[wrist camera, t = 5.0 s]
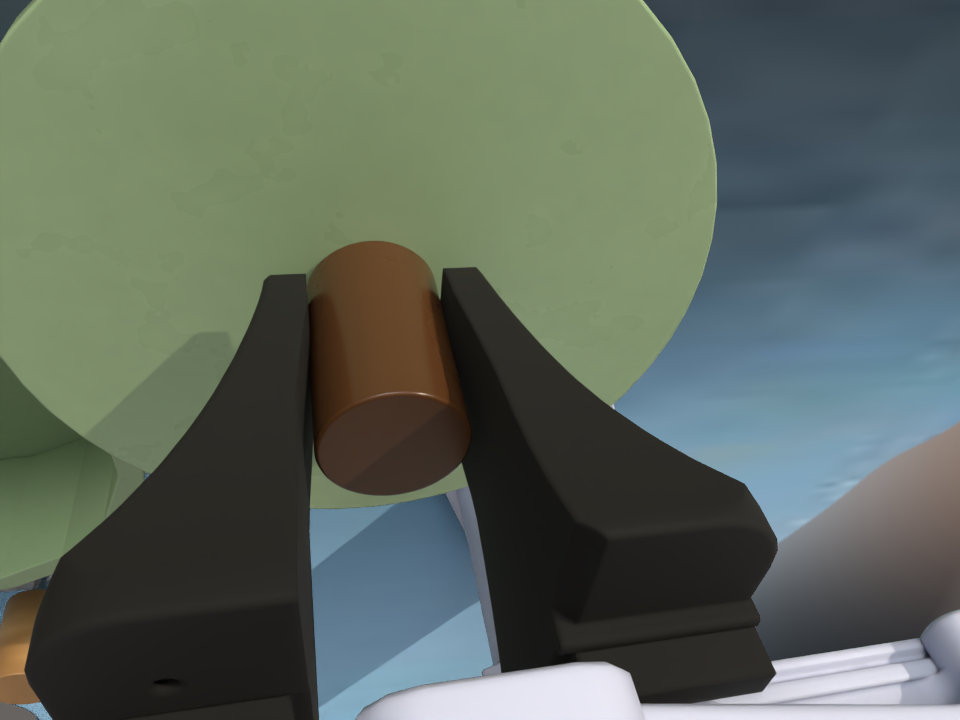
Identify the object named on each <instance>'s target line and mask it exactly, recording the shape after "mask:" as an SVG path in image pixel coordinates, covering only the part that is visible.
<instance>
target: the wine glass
mask: <svg viewBox="0 0 960 720" xmlns="http://www.w3.org/2000/svg"><path fill="white" fill-rule="evenodd" d="M0 720H39V719H38V718H37V717H36V716H35V715H34V714H33V713H31V712H29V711H28V710H26V709H24V708H21V707H19V706H16V705H12V704H8V703H3V702H0Z"/></svg>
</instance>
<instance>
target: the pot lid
mask: <svg viewBox="0 0 960 720" xmlns="http://www.w3.org/2000/svg"><path fill="white" fill-rule="evenodd" d="M716 206H717V170H716V156H715V151H714V145H713V139H712V134H711V128H710V122H709V118H708V116H707V113H706V110H705V107H704V104H703V101H702V98H701V95H700V93H699V90H698V87H697V84H696V81H695V79H694V77H693V75H692V73H691V71H690V69H689V68H688V66H687V64H686V62H685V60H684V58H683V57H682V55H681V53H680V51H679V49H678V47H677V46H676V44H675V42H674V40H673V38H672V37H671V36H670V34H669V33H668V32H667V30H666V29H665V28H664V27H663V25H662V24H661V23H660V22H659V20H658V19H657V18H656V16H655V15H654V14H653V13H652V11H651V10H650V9H649V7H648V6H647V5H646V4H645V2H644V1H643V0H32V1H31V2H30V4H29V5H28V6H27V7H26V8H25V9H24V10H23V11H22V12H21V13H20V14H19V15H18V16H17V18H16V19H15V21H14V22H13V24H12V25H11V27H10V29H9V30H8V32H7V33H6V35H5V36H4V38H3V40H2V41H1V43H0V357H1V358H2V359H3V360H4V362H5V363H6V364H7V366H8V367H9V368H10V370H11V371H12V372H13V373H14V375H15V376H16V377H17V379H18V380H19V381H20V382H21V384H22V385H23V386H24V387H25V388H26V389H27V390H28V391H29V392H30V393H31V394H32V395H33V396H34V397H35V398H36V399H37V400H38V401H39V402H40V403H41V404H43V405H44V406H45V407H46V408H47V409H48V410H49V411H50V412H51V413H52V414H53V415H54V416H56V417H57V418H58V419H60V420H61V421H62V422H63V423H65V424H66V425H67V426H69V427H70V428H71V429H72V430H74V431H75V432H76V433H78V434H79V435H80V436H82V437H83V438H84V439H86V440H88V441H89V442H91V443H93V444H94V445H96V446H98V447H99V448H101V449H102V450H104V451H106V452H107V453H109V454H111V455H112V456H114V457H116V458H117V459H119V460H121V461H123V462H126V463H128V464H130V465H132V466H134V467H136V468H138V469H140V470H142V471H144V472H147V473H149V474H151V473H152V472H153V471H154V470H155V469H156V468H157V467H158V466H159V464H160V463H161V462H162V461H163V460H164V459H165V458H166V456H167V455H168V454H169V453H170V451H171V450H172V449H173V448H174V446H175V445H176V444H177V443H178V441H179V440H180V439H181V438H182V437H183V435H184V434H185V433H186V431H187V430H188V429H189V427H190V426H191V425H192V423H193V422H194V421H195V419H196V418H197V416H198V415H199V414H200V412H201V411H202V409H203V408H204V406H205V405H206V403H207V402H208V400H209V399H210V397H211V396H212V394H213V392H214V391H215V389H216V387H217V386H218V384H219V382H220V381H221V379H222V377H223V375H224V374H225V372H226V370H227V368H228V367H229V365H230V363H231V361H232V360H233V358H234V356H235V354H236V352H237V350H238V348H239V345H240V343H241V341H242V339H243V337H244V335H245V333H246V331H247V329H248V326H249V324H250V322H251V319H252V317H253V314H254V312H255V309H256V306H257V304H258V301H259V297H260V294H261V291H262V286H263V281H264V280H265V279H266V278H267V277H268V276H269V275H281V274H306V283H307V297H308V313H309V331H310V386H311V405H312V424H313V456H312V475H311V495H310V509H344V508H360V507H374V506H381V505H388V504H395V503H402V502H409V501H413V500H418V499H422V498H427V497H431V496H436V495H440V494H444V493H448V492H451V491H454V490H457V489H461V488H464V487H467V486H468V483H467V480H466V476H465V473H464V469H463V466H462V463H461V462H462V461H463V460H464V458H465V456H466V455H467V453H468V450H469V448H470V444H471V440H472V430H471V425H470V420H469V416H468V412H467V408H466V404H465V400H464V396H463V392H462V388H461V384H460V380H459V376H458V372H457V367H456V363H455V359H454V355H453V351H452V347H451V343H450V339H449V335H448V331H447V327H446V323H445V319H444V314H443V310H442V306H441V302H440V297H441V284H442V271H443V268H464V267H476V268H477V269H478V270H479V271H480V272H481V273H482V274H483V275H484V277H485V278H486V279H487V281H488V282H489V283H490V284H491V286H492V287H493V288H494V290H495V291H496V292H497V293H498V295H499V296H500V297H501V299H502V300H503V301H504V302H505V303H506V305H507V306H508V307H509V308H510V310H511V311H512V312H513V313H514V314H515V316H516V317H517V318H518V319H519V320H520V321H521V323H522V324H523V325H524V326H525V327H526V328H527V329H528V330H529V331H530V333H531V334H532V335H533V336H534V337H535V338H536V339H537V340H538V341H539V343H540V344H541V345H542V346H543V347H544V348H545V349H546V350H547V351H548V352H549V353H550V354H551V355H552V356H553V357H554V358H555V359H556V360H557V361H558V362H559V363H560V364H561V365H562V366H563V367H564V368H565V369H566V370H567V371H568V372H569V373H570V374H572V375H573V376H574V377H575V378H576V379H577V380H578V381H579V382H580V383H582V384H583V385H584V386H585V387H586V388H588V389H589V390H590V391H591V392H593V393H594V394H595V395H596V396H597V397H599V398H600V399H601V400H602V401H604V402H605V403H606V404H608V405H609V406H612V405H613V404H614V403H615V402H616V401H617V400H618V399H619V398H621V397H622V396H623V395H624V394H625V393H626V392H627V391H628V390H629V389H630V388H631V387H632V386H633V384H634V383H635V382H636V381H637V380H638V379H639V378H640V377H641V376H642V375H643V374H644V373H645V371H646V370H647V369H648V368H649V367H650V366H651V364H652V363H653V362H654V360H655V359H656V358H657V356H658V355H659V354H660V352H661V351H662V350H663V348H664V347H665V346H666V344H667V343H668V342H669V340H670V339H671V337H672V335H673V334H674V332H675V330H676V328H677V327H678V325H679V323H680V321H681V320H682V318H683V316H684V315H685V313H686V311H687V309H688V307H689V305H690V303H691V300H692V298H693V296H694V293H695V291H696V289H697V286H698V284H699V282H700V279H701V277H702V274H703V271H704V267H705V263H706V260H707V256H708V253H709V249H710V245H711V242H712V237H713V229H714V221H715V214H716Z"/></svg>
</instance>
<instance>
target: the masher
mask: <svg viewBox="0 0 960 720" xmlns="http://www.w3.org/2000/svg"><path fill="white" fill-rule="evenodd" d="M52 575H53V574H52ZM52 575H49V576H46V577H43V578H40V579H37V580H35V581H32V582H29V583H26V584H23V585H21V586H18V587H15V588H10V589H4V590H0V592H8V591H17V590H26V589H32V590H27V591H23V592H20V593H17V594H15V595H14V596H12V597H11V598H10V599H9V600H8V601H7V603H6V607H5V611H4V614H3V618H2V622H1V626H0V702H3V703H8V704H31V703H37V702H40V700H39V699H38V697H37V696H36V694H35V693H34V691H33V690H32V688H31V687H30V685H29V684H28V681H27V678H26V675H25V672H24V668H25V664H26V659H27V654H28V650H29V645H30V640H31V636H32V631H33V627H34V623H35V619H36V616H37V613H38V610H39V607H40V604H41V602H42V599H43V596H44V594H45V591H46V589H47V586H48V584H49V581H50V579H51V577H52Z"/></svg>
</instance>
